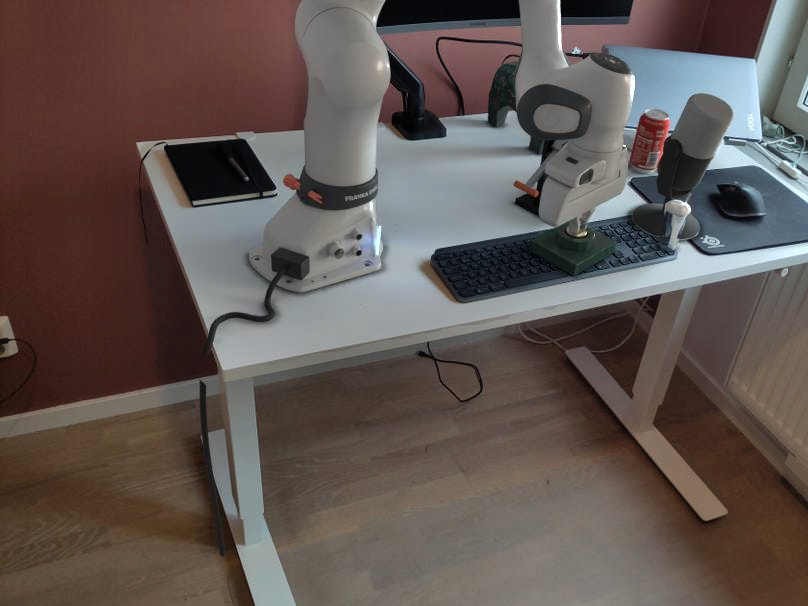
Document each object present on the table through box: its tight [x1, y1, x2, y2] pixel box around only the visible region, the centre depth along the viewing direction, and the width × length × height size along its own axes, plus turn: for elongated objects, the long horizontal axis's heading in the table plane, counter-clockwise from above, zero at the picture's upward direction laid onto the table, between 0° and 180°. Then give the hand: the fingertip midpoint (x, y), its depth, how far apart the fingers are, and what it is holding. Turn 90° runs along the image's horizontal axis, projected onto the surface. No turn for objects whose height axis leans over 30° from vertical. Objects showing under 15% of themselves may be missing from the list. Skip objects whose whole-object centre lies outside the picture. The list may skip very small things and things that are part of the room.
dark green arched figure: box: [487, 53, 544, 155], centre depth 173 cm, size 20×6×20 cm, turn 39°
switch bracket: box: [514, 140, 568, 218], centre depth 154 cm, size 11×9×14 cm
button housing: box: [528, 221, 617, 277], centre depth 145 cm, size 12×10×4 cm
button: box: [566, 227, 587, 239], centre depth 144 cm, size 4×4×2 cm
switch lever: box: [513, 140, 568, 197], centre depth 150 cm, size 12×5×2 cm
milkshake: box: [657, 192, 692, 252], centre depth 148 cm, size 5×5×10 cm
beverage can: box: [629, 108, 671, 174], centre depth 172 cm, size 6×6×12 cm
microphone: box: [631, 92, 735, 242], centre depth 150 cm, size 13×13×25 cm
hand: (577, 230), depth 144 cm, fingers closed, pressing on button
